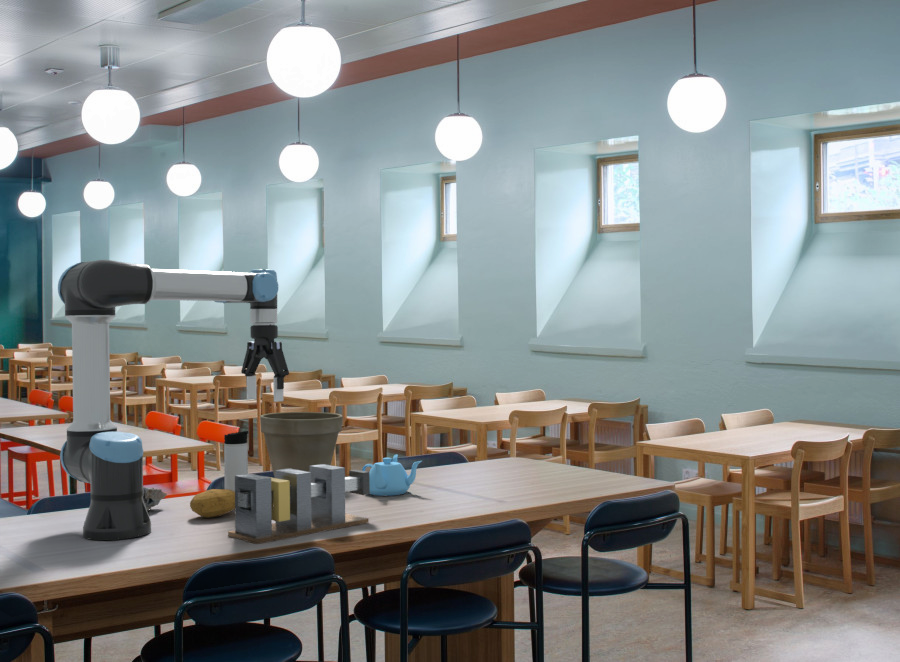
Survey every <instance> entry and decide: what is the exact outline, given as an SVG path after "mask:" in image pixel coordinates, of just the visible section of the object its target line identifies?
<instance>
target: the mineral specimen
mask: <svg viewBox="0 0 900 662" xmlns="http://www.w3.org/2000/svg"><path fill="white" fill-rule="evenodd" d="M166 496H167V493H166V492H164V491H162V489H161V488H154V487H146V486H145V487H144V486H143V501H144V504H145V506H146V509H147V510H148V511H150V510H151V509H152V508H154V507H155V506H158V505H159V504H160V502H161V500H163V499H164V498H165V497H166ZM149 509H150V510H149Z"/></svg>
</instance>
